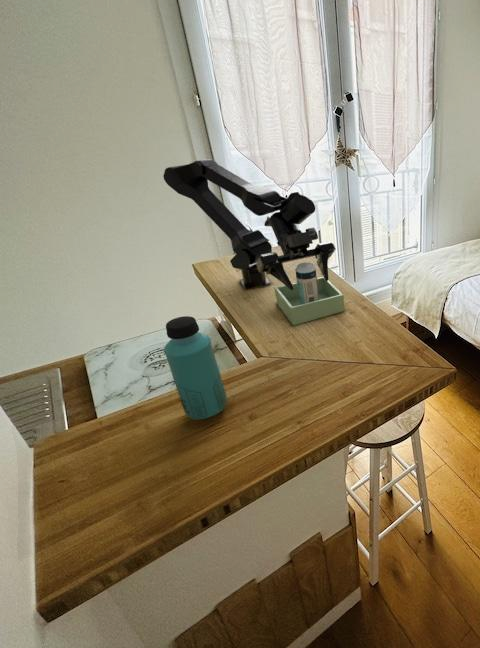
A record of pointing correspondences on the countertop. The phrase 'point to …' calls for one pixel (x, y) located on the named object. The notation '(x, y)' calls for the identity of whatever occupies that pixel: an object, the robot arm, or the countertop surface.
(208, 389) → the beverage bottle
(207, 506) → the countertop surface
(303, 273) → the labeled cylindrical canister
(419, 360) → the countertop surface
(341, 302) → the bin
